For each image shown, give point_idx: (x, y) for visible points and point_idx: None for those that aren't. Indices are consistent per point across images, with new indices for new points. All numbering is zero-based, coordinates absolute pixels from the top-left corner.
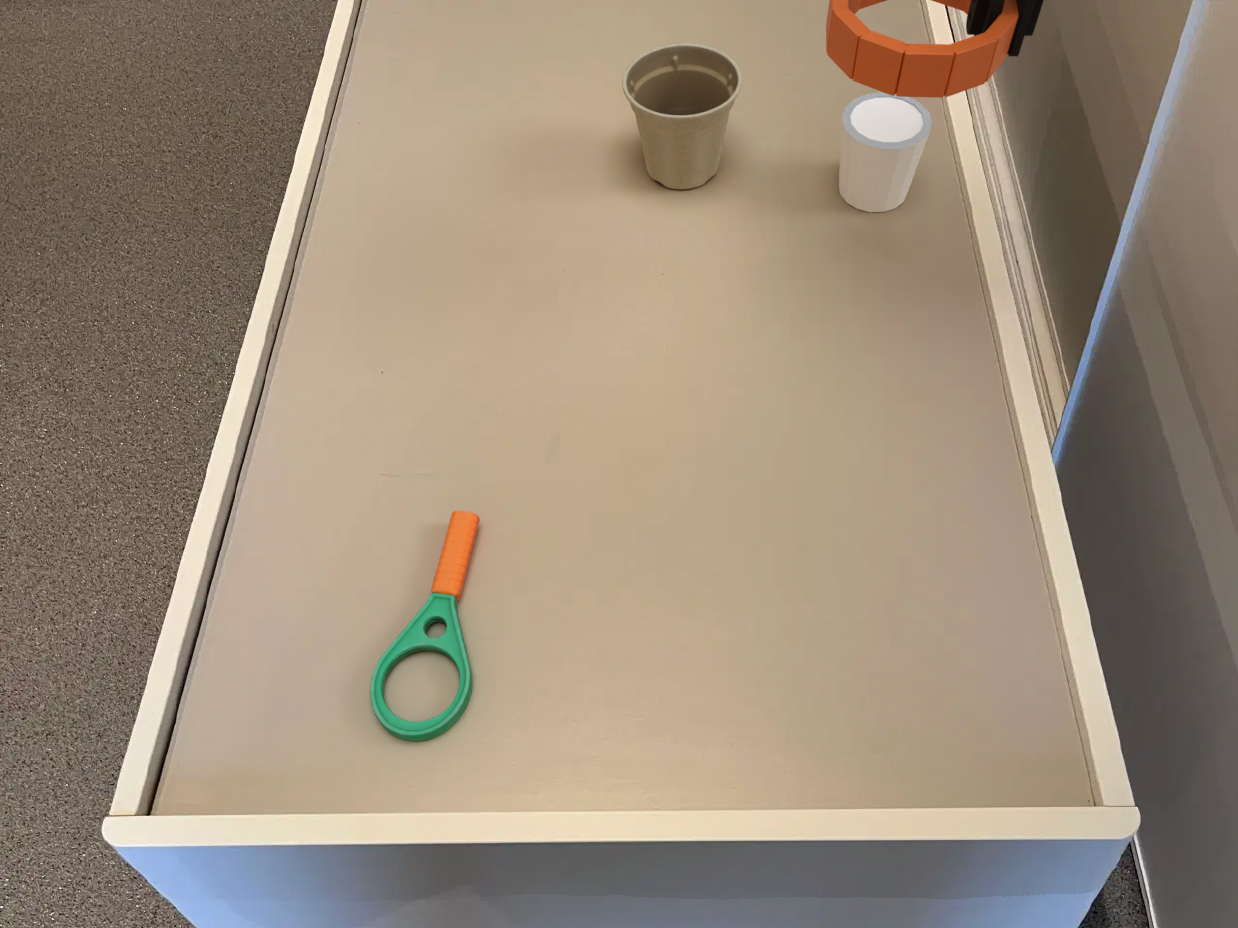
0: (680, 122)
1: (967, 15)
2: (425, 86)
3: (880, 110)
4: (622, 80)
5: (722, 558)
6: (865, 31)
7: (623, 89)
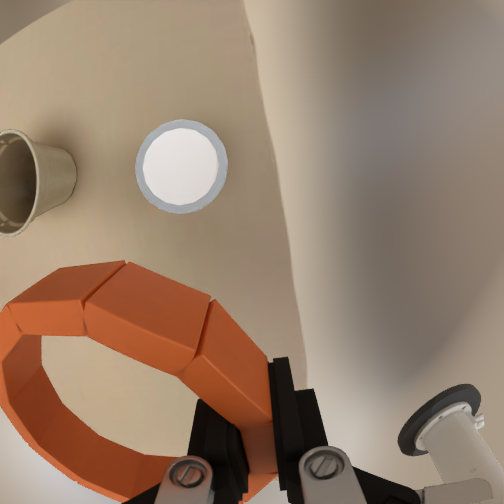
0: (17, 229)
1: (197, 402)
2: None
3: (171, 151)
4: None
5: (170, 437)
6: (76, 478)
7: None
